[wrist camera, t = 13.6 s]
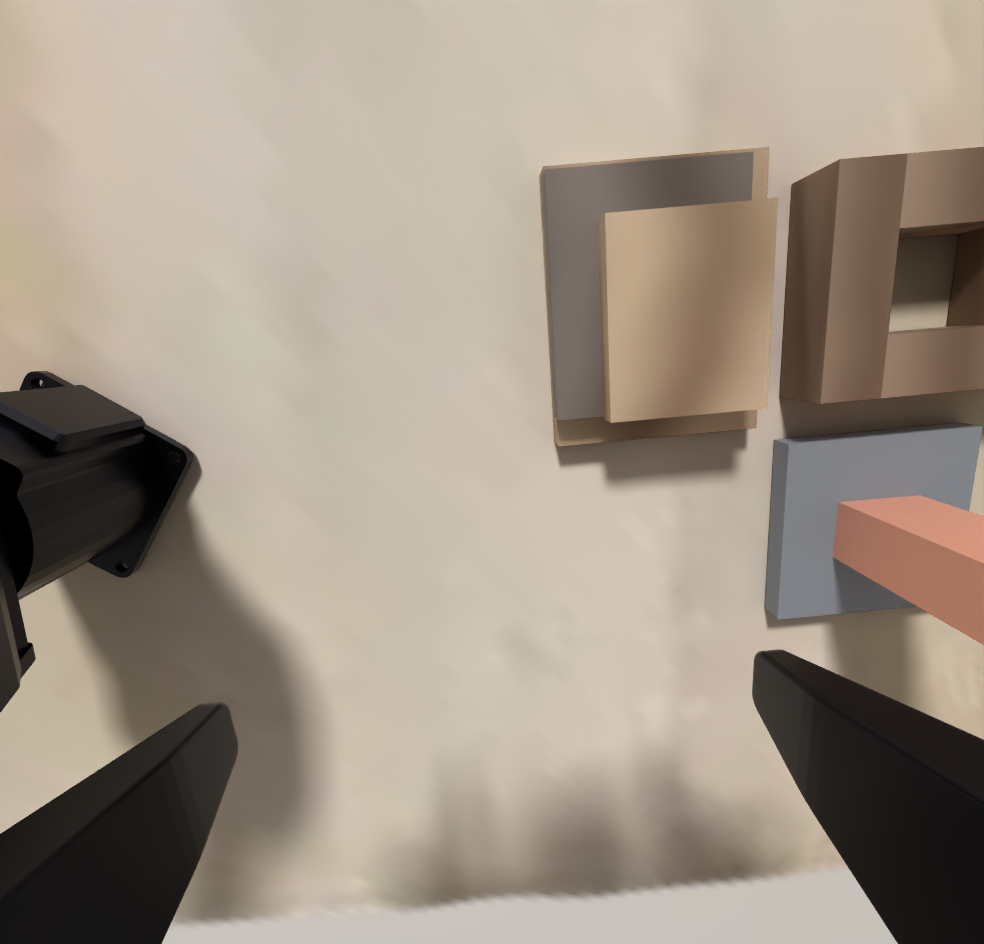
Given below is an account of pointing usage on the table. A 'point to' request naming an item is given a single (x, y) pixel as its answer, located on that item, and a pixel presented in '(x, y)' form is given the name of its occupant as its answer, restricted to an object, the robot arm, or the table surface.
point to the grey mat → (850, 477)
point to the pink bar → (918, 554)
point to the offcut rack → (747, 287)
